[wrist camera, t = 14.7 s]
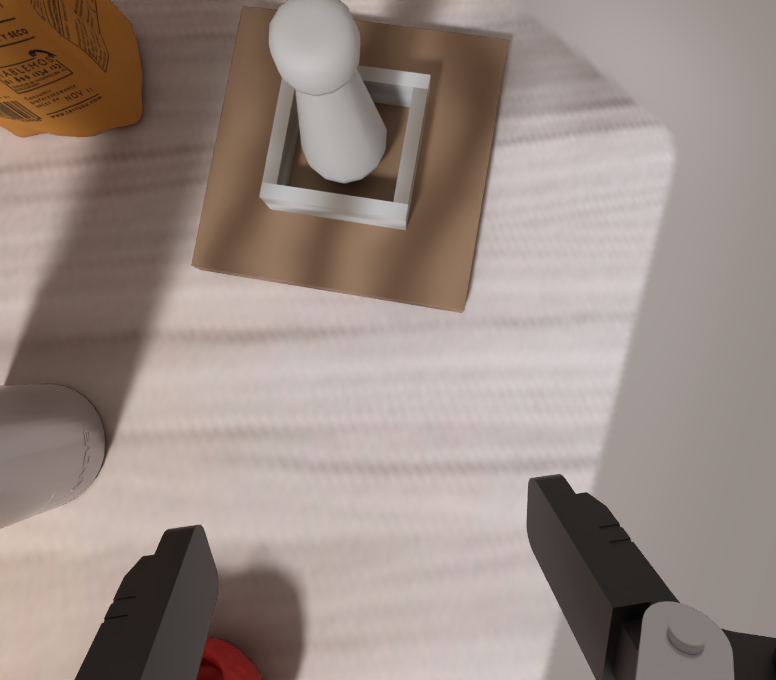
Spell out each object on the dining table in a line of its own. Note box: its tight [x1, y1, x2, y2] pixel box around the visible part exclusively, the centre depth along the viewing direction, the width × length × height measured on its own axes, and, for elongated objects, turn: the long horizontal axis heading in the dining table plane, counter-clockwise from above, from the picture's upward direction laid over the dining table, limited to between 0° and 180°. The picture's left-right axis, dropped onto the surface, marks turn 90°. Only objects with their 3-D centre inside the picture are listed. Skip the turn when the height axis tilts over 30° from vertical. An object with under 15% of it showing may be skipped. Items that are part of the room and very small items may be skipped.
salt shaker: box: [269, 0, 387, 184], centre depth 28 cm, size 6×6×13 cm
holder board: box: [191, 6, 509, 313], centre depth 34 cm, size 20×20×4 cm
